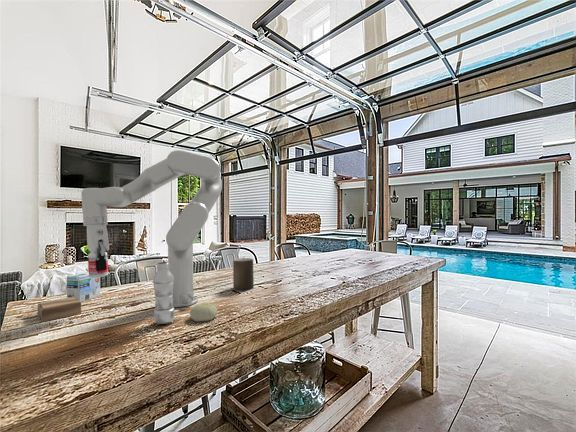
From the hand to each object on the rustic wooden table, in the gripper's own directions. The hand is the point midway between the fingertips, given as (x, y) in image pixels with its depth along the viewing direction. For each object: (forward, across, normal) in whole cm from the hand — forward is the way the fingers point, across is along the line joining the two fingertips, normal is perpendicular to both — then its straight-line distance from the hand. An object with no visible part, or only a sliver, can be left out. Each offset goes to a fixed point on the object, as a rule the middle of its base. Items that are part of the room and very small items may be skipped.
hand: (98, 268), depth 108 cm
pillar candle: (+18, -14, -56) cm, 60 cm away
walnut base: (+15, +9, +11) cm, 21 cm away
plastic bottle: (+17, -29, -11) cm, 36 cm away
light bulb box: (+16, +25, 0) cm, 29 cm away
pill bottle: (+3, 0, 0) cm, 3 cm away
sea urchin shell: (+18, -35, -22) cm, 45 cm away
